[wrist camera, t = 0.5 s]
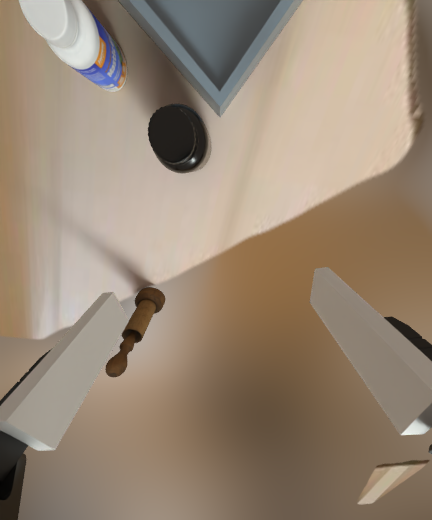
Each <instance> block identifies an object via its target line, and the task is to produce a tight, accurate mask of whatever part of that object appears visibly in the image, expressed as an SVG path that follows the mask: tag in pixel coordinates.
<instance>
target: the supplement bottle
mask: <svg viewBox="0 0 432 520" xmlns="http://www.w3.org/2000/svg"><path fill="white" fill-rule="evenodd" d="M148 136H149V141H150V143H151V147H152V148H153V151H154V153H155V155H156V156H157V158H158V160H159V161H160V162H161V163H162V164H163V165H164V166H165V167H166V168H168V169H169V170H171V171H173V172H176V173H189V172H194V171H197V170H199V169H201V168H203V167H204V166H205V165H206V163H207V162H208V160H209V158H210V154H211V141H210V137H209V134H208V132H207V129H206V127H205V124H204V123H203V121H202V119H201V118H200V116H199V115H198V114H197V113H196V112H195V111H194V110H193V109H191V108H190V107H188V106H186V105H183V104H170V105H167V106H165V107H161V108H160V109H159V110H156V112H155V113H154V114H153V116H152V117H151V118H150V122H149V127H148Z"/></svg>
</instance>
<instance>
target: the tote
mask: <svg viewBox="0 0 432 520" xmlns="http://www.w3.org/2000/svg"><path fill="white" fill-rule="evenodd" d="M118 1H119V2H120V3H121V4H122V6H123V7H124V8H125V9H126V10H127V11H128V12H129V14H130V15H131V16H132V17H133V18H134V19H135V21H136V22H137V23H138V24H139V25H140V26H141V27H142V29H143V30H144V31H145V32H146V33H147V34H148V35H149V37H150V38H151V39H152V40H153V41H154V42H155V44H156V45H157V46H158V47H159V48H160V49H161V50H162V52H163V53H164V54H165V55H166V56H167V57H168V58H169V60H170V61H171V62H172V63H173V64H174V65H175V67H176V68H177V69H178V70H179V71H180V72H181V73H182V75H183V76H184V77H185V78H186V79H187V80H188V81H189V83H190V84H191V85H192V86H193V87H194V88H195V90H196V91H197V92H198V93H199V94H200V95H201V96H202V98H203V99H204V100H205V101H206V102H207V103H208V104H209V106H210V107H211V108H212V109H213V110H214V111H215V113H216V114H217V115H218V116H219V117H221V115H222V114H223V113H224V111H225V110H226V108H227V107H228V106H229V104H230V103H231V101H232V100H233V99H234V97H235V96H236V94H237V93H238V91H239V90H240V89H241V87H242V86H243V84H244V83H245V82H246V80H247V79H248V77H249V76H250V75H251V73H252V72H253V70H254V69H255V67H256V66H257V65H258V63H259V62H260V60H261V59H262V58H263V56H264V55H265V53H266V52H267V50H268V49H269V48H270V46H271V45H272V43H273V42H274V41H275V39H276V38H277V36H278V35H279V34H280V32H281V31H282V29H283V28H284V26H285V25H286V24H287V22H288V21H289V19H290V18H291V17H292V15H293V14H294V12H295V11H296V10H297V8H298V7H299V5H300V4H301V2H302V1H303V0H118Z"/></svg>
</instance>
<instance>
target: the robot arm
mask: <svg viewBox="0 0 432 520" xmlns="http://www.w3.org/2000/svg"><path fill="white" fill-rule="evenodd" d="M310 303H311V305H312V306H313V308H314V309H315V311H316V312H317V314H318V315H319V317H320V318H321V320H322V321H323V323H324V324H325V325H326V327H327V328H328V330H329V331H330V333H331V334H332V335H333V337H334V339H335V340H336V342H337V343H338V344H339V346H340V347H341V349H342V350H343V352H344V353H345V355H346V356H347V358H348V359H349V360H350V362H351V364H352V365H353V366H354V368H355V369H356V371H357V372H358V374H359V375H360V377H361V378H362V380H363V381H364V383H365V384H366V385H367V387H368V388H369V390H370V391H371V393H372V394H373V396H374V397H375V398H376V400H377V401H378V403H379V405H380V406H381V407H382V409H383V410H384V412H385V413H386V415H387V416H388V417H389V419H390V420H391V422H392V424H393V425H394V427H395V428H396V429H397V431H398V432H399V434H400V435H412V434H413V435H414V434H425V433H426V432H427V431H428V430H429V429H430V428H431V427H432V345H431V344H430V343H429V342H427V341H426V340H425V339H422V336H420V335H419V334H418V333H417V332H416V331H414V330H413V329H412V328H411V327H409V326H408V325H406V324H405V323H403V322H401V321H399V320H397V319H396V318H394V317H384V318H383V317H382V316H381V315H380V314H379V313H378V312H376V310H375V309H373V308H372V307H371V306H370V305H369V304H368V303H367V302H366V301H365V300H364V299H362V298H361V297H360V296H359V295H358V294H357V293H356V292H355V291H354V290H353V289H351V288H350V287H349V286H348V285H347V284H346V283H345V282H344V281H343V280H341V279H340V278H339V277H338V276H337V275H336V274H335V273H334V272H333V271H332V270H330V269H329V268H328V267H326V268H317V269H315V272H314V279H313V286H312V292H311V299H310ZM128 322H129V320H128V318H127V316H126V314H125V312H124V310H123V309H122V307H121V305H120V303H119V301H118V300H117V298H116V296H115V294H114V292H109V293H102V295H101V296H100V297H99V298H98V299H97V300H96V301H95V302H94V303H93V304H92V306H91V307H90V308H89V309H88V310H87V311H86V312H85V313H84V314H83V315H82V317H81V318H80V319H79V320H78V321H77V322H76V323H75V324H74V325H73V326H72V328H71V329H70V330H69V331H68V332H67V333H66V334H65V335H64V336H63V337H62V339H61V340H60V341H59V342H58V343H57V344H56V345H55V347H53V348H52V349H51V350H49V351H48V352H47V353H46V354H44V355H43V356H42V357H41V358H40V359H39V360H38V361H37V362H36V363H35V364H34V365H33V366H32V367H31V368H30V369H29V372H27V373H25V375H24V376H23V377H22V378H21V379H20V382H17V383H16V384H15V385H14V386H13V388H12V389H11V390H10V391H9V392H8V393H7V394H6V395H5V396H4V397H3V398H2V399H1V401H0V520H18V513H19V506H20V499H21V492H22V486H23V479H24V472H25V465H26V455H25V454H23V452H24V451H25V449H26V448H27V446H30V447H32V448H34V449H36V450H38V451H42V450H55V449H56V447H57V446H58V444H59V442H60V440H61V438H62V437H63V435H64V433H65V432H66V430H67V428H68V426H69V425H70V423H71V421H72V420H73V418H74V416H75V414H76V412H77V411H78V409H79V407H80V406H81V404H82V402H83V400H84V399H85V397H86V395H87V393H88V392H89V390H90V388H91V386H92V385H93V383H94V381H95V379H96V378H97V376H98V374H99V372H100V371H101V369H102V367H103V365H104V364H105V362H106V360H107V358H108V357H109V355H110V353H111V351H112V350H113V348H114V346H115V345H116V343H117V341H118V339H119V337H120V336H121V334H122V332H123V331H124V329H125V327H126V325H127V324H128ZM429 453H431V454H432V445H430V447H429Z"/></svg>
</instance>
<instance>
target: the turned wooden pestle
mask: <svg viewBox="0 0 432 520" xmlns="http://www.w3.org/2000/svg"><path fill="white" fill-rule="evenodd" d="M164 303H165V296H164V294H163V293H162V292H161V291H160V290H158V289H156V288H151V287H147V288H144V289H142V290H141V291H140V292H139V293H138V295H137V296H136V298H135V304H136V307H137V308H136V310H135V312H134V313H133V315H132V317H131V318H130V320H129V322H128V324H127V325H126V327H125V329H124V331H123V332H122V337H123V339H124V341H123V342H122V343H121V344H120V352H119V353H118V354H116V355H115V356H114V357H112V358H111V359H110V360H109V361H108V363H107V365H106V373H107V375H108V376H110V377H117V376H120V375H121V374H122V373H123V372H124V371H125V370H126V367H127V354H128V353H129V352H130V351H132V350H133V347H134V343H138V342H140V341H141V340H142V338H143V336H144V333H145V331H146V329H147V327H148V325H149V322H150V320H151V318H152V315H153V314H154V313H157V312H159V311H160V310H161V309H162V307H163V305H164Z"/></svg>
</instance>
